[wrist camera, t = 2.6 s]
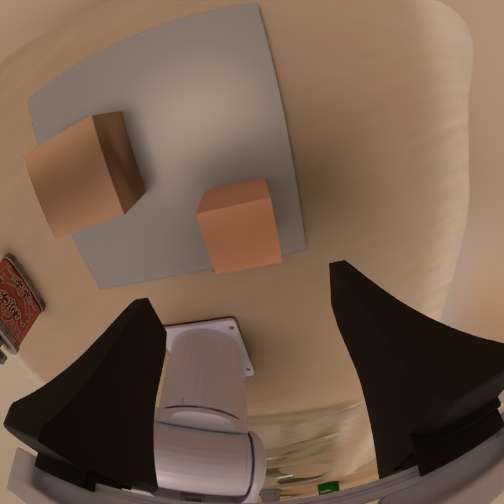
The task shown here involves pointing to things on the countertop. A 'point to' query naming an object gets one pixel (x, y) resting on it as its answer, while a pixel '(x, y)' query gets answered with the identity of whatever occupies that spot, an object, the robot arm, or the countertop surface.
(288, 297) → the countertop surface
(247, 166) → the baseplate
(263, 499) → the coffeepot
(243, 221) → the top brick
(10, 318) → the lighter
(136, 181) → the base brick
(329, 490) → the milk carton
